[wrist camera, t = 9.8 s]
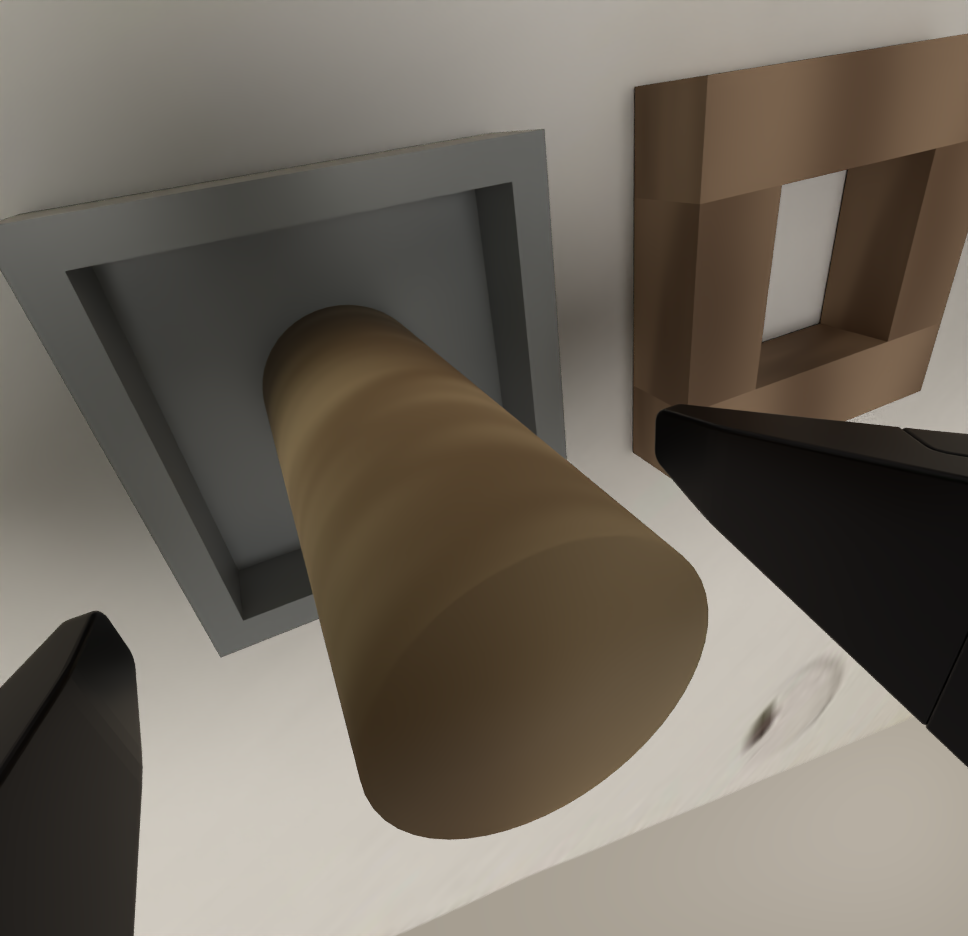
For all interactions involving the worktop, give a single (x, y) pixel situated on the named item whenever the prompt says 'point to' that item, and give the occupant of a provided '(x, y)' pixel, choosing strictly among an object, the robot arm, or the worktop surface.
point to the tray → (281, 332)
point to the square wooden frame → (753, 219)
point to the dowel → (468, 584)
